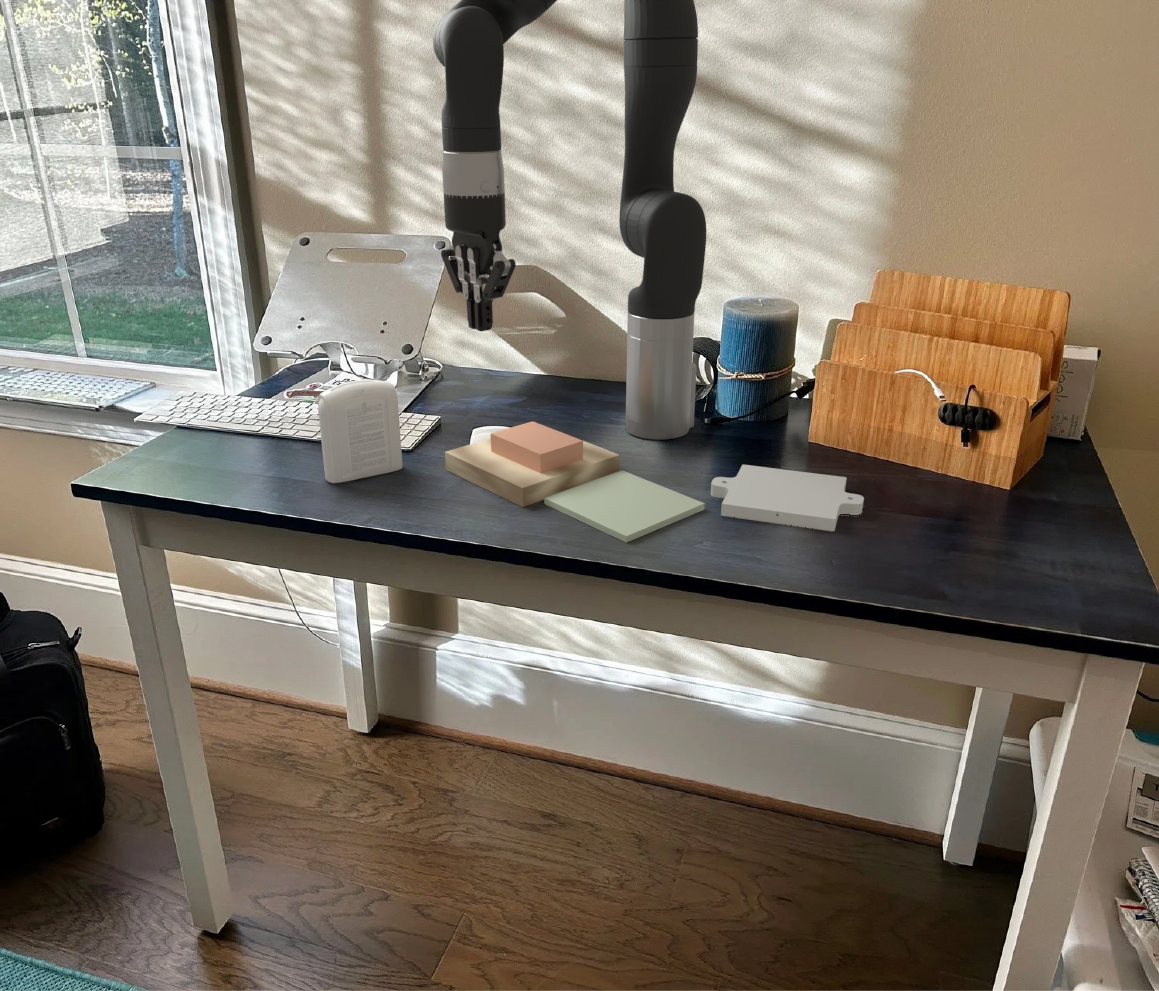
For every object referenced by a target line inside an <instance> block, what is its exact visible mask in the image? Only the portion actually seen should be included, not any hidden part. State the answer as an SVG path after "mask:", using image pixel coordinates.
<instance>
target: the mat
mask: <svg viewBox="0 0 1159 991" xmlns="http://www.w3.org/2000/svg"><path fill="white" fill-rule="evenodd" d="M543 501H544V502H543V504H544V505H546V506H548V507H550V508H551V509H554V510H556V511H559V512H561V513H562V514H564V515H567V516H569V517H571V518H573V519H575V520H577V521H579V522H581V523H584V524H586V525H588V526H591V527H592V528H594V529H597V530H598V531H601V532H602V533H605V534H606V535H609V536H611V537H614V538H615V539H618V540H620V541H622V542H624V543H629V542H631V541H633V540H636V539H638V538H642V537H643V536H645V535H647V534H650V533H652V532H654V531H656V530H659V529H662V528H664V527H667V526H669V525H671V524H674V523H676V522H678V521H680V520H683V519H686V518H688V517H690V516H692V515H695V514H697V513H699V512H703V511H704V510H705V505H706V504H705V502H702V501H700V500H697V499H695V498H692V497H690V496H688V495H686V494H682V493H680V492H677V491H675V490H672V489H670V488H667V487H665V486H662V485H660V484H658V483H655V482H653V481H650V480H649V479H648V480H647V479H644V478H643V477H640V476H637V475H635V474H632V473H630V472H627V471H625V470H623V469H622V470H619V471H618V472H615V473H613V474H610V475H607V476H604V477H601V478H599V479H596V480H593V481H590V482H587V483H585V484H582V485H579V486H576V487H573V488H571V489H568V490H565V491H562V492H559V493H557V494H554V495H551V496H548V497H545V498H544V500H543Z"/></svg>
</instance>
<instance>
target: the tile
mask: <svg viewBox="0 0 1159 991" xmlns="http://www.w3.org/2000/svg"><path fill="white" fill-rule="evenodd" d="M490 438H491V452H493V453H495V454H498V455H500V456H502V457H505V458H507V459H509V460H511V461H514V462H516V463H518V464H520V465H523V466H525V467H527V468H530V469H532V470H534V471H536V472H539V473H544V472H546V471H549V470H552V469H555V468H558V467H561V466H564V465H567V464H570V463H573V462H576V461H579V460H582V459H583V441H584V440H582V439H581V438H577V437H575V438H574V436H572V435H570V434H567V433H564V432H562V431H558V430H557V431H556V429H554V428H551V427H548V426H546V425H544V426H543V424H541V423H538V422H536V421H530V422H529V421H528V422H526V423H522V424H519V425H516V426H512V427H509V428H505V429H501V430H498V431H495V432H491V433H490Z"/></svg>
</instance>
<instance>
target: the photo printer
mask: <svg viewBox="0 0 1159 991" xmlns="http://www.w3.org/2000/svg"><path fill="white" fill-rule="evenodd" d="M398 398H399V397H398V393H397V390H396V388H395V385H394V384H393V383H391V382H389V381H386V380H380V379H359V380H352V381H347V382H345V383H341V384H338V385H335V386H333V387H330V388H328V389H326V390H324V391H321V393H319V395H318V396H317V412H318V413H317V414H318V419H319V420H318V421H319V429H320V430H319V431H320V440H321V451H322V460H323V467H324V478H325V480H326V482H328V483H331V484H338V483H340V484H341V483H346V482H350V481H354V480H356V481H357V480H359V479H364V478H368V477H375V476H378V475H379V476H380V475H384V474H389V473H393V472H396V471H400V470H402V468H403V455H402V454H403V453H402V440H401V429H400V428H401V427H400V414H399V413H400V411H399V399H398Z"/></svg>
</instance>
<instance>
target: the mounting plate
mask: <svg viewBox="0 0 1159 991" xmlns="http://www.w3.org/2000/svg"><path fill="white" fill-rule="evenodd" d="M846 485H847V477H845V476H839V475H831V474H821V473H813V472H805V471H797V470H792V469H791V470H790V469H789V470H788V469H781V468H775V467H773V468H772V467H767V466H758V465H751V464H750V465H749V464H741V467H740V468H739V471H738V473H737V474H736V476H734V477H725V476H716V477H714V478H713V479H712V480H711V482H710V495H711V497H714V498H717V499H723V498H724V499H723V501H722V503H721V509H720V516H722V517H729V518H734V517H735V518H736V519H740V520H742V519H743V520H749V521H750V520H751V521H756V522H762V523H763V522H764V523H769V524H777V525H785V524H786V525H785V526H790V525H792V526H791V527H797V526H798V527H799V528H805V527H806V528H807V529H812V528H813V530H818V531H819V530H820V531H828V532H833V531H834V532H835V531H836V527H837V522H838V519H839V517H840V516H839V515H840V514H850V515H859V514H861V513H862V514H863V510H862V509H864V500H865V497H864V496H863V495H861V494H856V493H850V492H846V487H847V486H846ZM862 514H861V515H862ZM838 516H839V517H838Z"/></svg>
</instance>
